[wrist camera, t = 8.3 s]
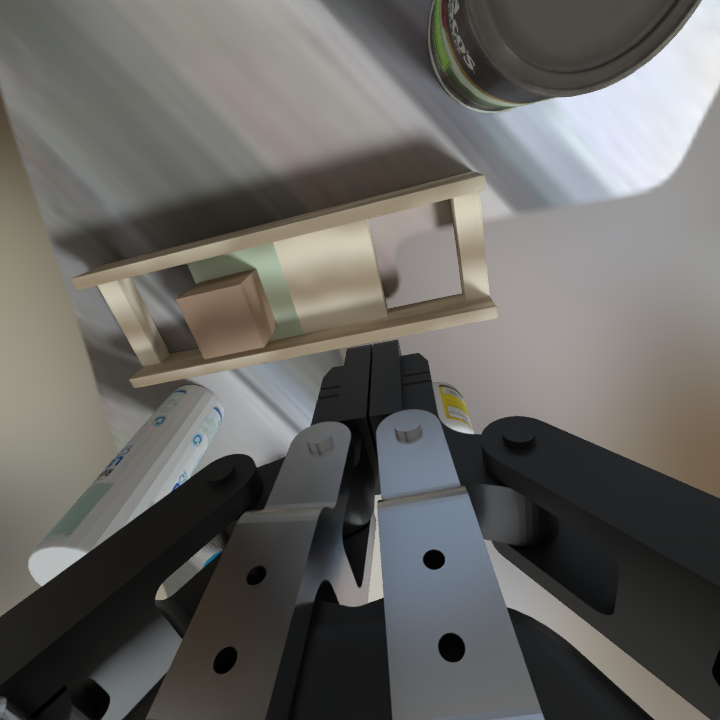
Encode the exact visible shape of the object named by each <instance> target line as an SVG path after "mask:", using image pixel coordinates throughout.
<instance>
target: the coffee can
mask: <svg viewBox="0 0 720 720" xmlns="http://www.w3.org/2000/svg"><path fill="white" fill-rule="evenodd" d="M701 1H702V0H433V3H432V7H431V11H430V17H429V26H428V46H429V54H430V58H431V62H432V66H433V69H434V71H435V74H436V76H437V78H438V80H439V82H440V83H441V85H442V87H443V88H444V89H445V91H446V92H447V93H448V94H449V96H450V97H452V98H453V99H454V100H455V101H456V102H458V103H459V104H461V105H462V106H464V107H466V108H468V109H471V110H474V111H477V112H483V113H501V112H505V111H509V110H512V109H514V108H517V107H520V106H524V105H529V104H533V103H537V102H541V101H545V100H549V99H553V98H557V97H572V96H577V95H582V94H587V93H590V92H594V91H597V90H600V89H603V88H606V87H608V86H610V85H612V84H614V83H616V82H618V81H620V80H622V79H624V78H626V77H627V76H629V75H631V74H632V73H634V72H635V71H636V70H638V69H639V68H640V67H642V66H643V65H645V64H646V63H647V62H649V61H650V60H651V59H652V58H653V57H655V56H656V55H657V54H658V53H659V52H660V51H661V50H662V49H663V48H664V47H665V46H666V45H667V44H668V43H669V42H670V41H671V40H672V39H673V38H674V37H675V36H676V35H677V33H678V32H679V31H680V30H681V29H682V28H683V26H684V25H685V24H686V22H687V21H688V20H689V18H690V17H691V16H692V14H693V13H694V12H695V10H696V9H697V7H698V5H699V4H700V2H701Z"/></svg>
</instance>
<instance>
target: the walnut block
mask: <svg viewBox="0 0 720 720" xmlns="http://www.w3.org/2000/svg"><path fill="white" fill-rule="evenodd" d="M176 301H177V303H178V306H179V308H180V310H181V312H182V314H183V316H184V318H185V320H186V322H187V324H188V326H189V328H190V330H191V333H192V335H193V337H194V339H195V341H196V343H197V345H198V347H199V349H200V351H201V353H202V355H203V358H204V359H209V358H214V357H219V356H224V355H229V354H233V353H238V352H243V351H248V350H253V349H258V348H263V347H265V345H266V344H267V342H268V340H269V339H270V337H271V335H272V334H273V332H274V330H275V329H276V327H277V323H276V321H275V318H274V315H273V312H272V310H271V307H270V304H269V302H268V299H267V296H266V294H265V291H264V288H263V285H262V283H261V280H260V277H259V275H258V272H257V269H252V270H248V271H244V272H239V273H235V274H231V275H227V276H223V277H219V278H214V279H210V280H206V281H202V282H199V283H197V284H196V285H195V286H193V287H192V288H190V289H189V290H188V291H186V292H185V293H184V294H182V295H181V296H180V297H178V298H177V299H176Z"/></svg>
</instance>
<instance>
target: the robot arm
mask: <svg viewBox="0 0 720 720" xmlns="http://www.w3.org/2000/svg"><path fill="white" fill-rule="evenodd" d="M320 389H321V391H320V392H319V396H318V400H317V404H316V407H315V411H314V415H313V419H312V423H311V426H310V427H308V428H306V429H304V430H303V431H301V432H300V433H299V434H298V435H297V436H296V437H295V438H294V440H293V441H292V443H291V445H290V448H289V450H288V452H287V455H286V457H284V458H282V459H279V460H277V461H274V462H271V463H269V464H266V465H263V466H260V467H258V468H257V467H256V465H255V463H254V461H253V459H252V458H251V457H250V456H247V455H244V454H232V455H228V456H225V457H222V458H220V459H217V460H215V461H214V462H212V463H210V464H209V465H207V466H206V467H205V468H203V469H202V470H200V471H199V472H198V473H196V474H195V475H194V476H192V477H191V478H189V479H188V480H187V481H185V482H184V483H183V484H181V485H180V486H179V487H177V488H176V489H174V490H173V491H172V492H170V493H169V494H168V495H166V496H165V497H164V498H162V499H161V500H159V501H158V502H157V503H155V504H154V505H153V506H151V507H150V508H148V509H147V510H146V511H144V512H143V513H142V514H140V515H139V516H138V517H136V518H135V519H133V520H132V521H131V522H129V523H128V524H127V525H125V526H124V527H122V528H121V529H120V530H118V531H117V532H116V533H114V534H113V535H112V536H110V537H109V538H107V539H106V540H105V541H103V542H102V543H101V544H99V545H98V546H97V547H95V548H94V549H92V550H91V551H90V552H88V553H87V554H86V555H84V556H83V557H81V558H80V559H79V560H77V561H76V562H75V563H73V564H72V565H71V566H69V567H68V568H66V569H65V570H64V571H62V572H61V573H60V574H58V575H57V576H56V577H54V578H53V579H51V580H50V581H49V582H47V583H46V584H45V585H43V586H42V587H41V588H39V589H38V590H36V591H35V592H34V593H32V594H31V595H30V596H28V597H27V598H25V599H24V600H23V601H21V602H20V603H19V604H17V605H16V606H15V607H13V608H12V609H10V610H9V611H8V612H6V613H5V614H4V615H2V616H1V617H0V720H654V719H653V718H652V717H651V716H650V715H649V714H647V713H646V712H645V711H644V710H643V709H642V708H641V707H640V706H639V705H637V704H636V703H635V702H634V701H633V700H632V699H631V698H630V697H629V696H627V695H626V694H625V693H624V692H623V691H622V690H621V689H620V688H619V687H618V686H616V685H615V684H614V683H613V682H612V681H611V680H610V679H609V678H608V677H607V676H606V675H604V674H603V673H602V672H601V671H600V670H599V669H598V668H597V667H596V666H594V665H593V664H592V663H591V662H590V661H589V660H588V659H587V658H586V657H585V656H583V655H582V654H581V653H580V652H579V651H578V650H577V649H576V648H575V647H573V646H572V645H571V644H570V643H569V642H568V641H566V640H565V639H564V638H563V637H561V636H560V635H558V634H557V633H556V632H554V631H553V630H552V629H550V628H549V627H547V626H546V625H544V624H542V623H540V622H539V621H537V620H535V619H534V618H532V617H530V616H528V615H525V614H523V613H521V612H519V611H516V610H514V609H511V608H508V607H506V604H505V601H504V598H503V595H502V592H501V590H500V587H499V583H498V580H497V578H496V575H495V572H494V569H493V566H492V563H491V560H490V557H489V554H488V551H487V548H486V545H485V542H484V539H486V540H491V541H492V543H493V545H494V547H495V548H496V549H497V551H498V552H499V553H500V554H501V555H502V556H504V557H505V558H506V559H507V560H509V561H510V562H511V563H512V564H514V565H515V566H516V567H518V568H519V569H520V570H521V571H523V572H524V573H525V574H526V575H528V576H529V577H530V578H531V579H533V580H534V581H535V582H537V583H538V584H539V585H540V586H542V587H543V588H544V589H545V590H547V591H548V592H549V593H551V594H552V595H553V596H554V597H556V598H557V599H558V600H559V601H561V602H562V603H563V604H564V605H566V606H567V607H568V608H570V609H571V610H572V611H574V612H575V613H576V614H577V615H578V616H580V617H581V618H583V619H584V620H585V621H586V622H588V623H589V624H590V625H591V626H593V627H594V628H595V629H596V630H598V631H599V632H600V633H602V634H603V635H604V636H605V637H606V638H608V639H609V640H610V641H611V642H613V643H614V644H615V645H617V646H618V647H619V648H620V649H622V650H623V651H624V652H625V653H627V654H628V655H629V656H631V657H632V658H633V659H634V660H636V661H637V662H638V663H639V664H641V665H642V666H643V667H645V668H646V669H647V670H648V671H650V672H651V673H652V674H653V675H655V676H656V677H657V678H658V679H660V680H661V681H662V682H664V683H665V684H666V685H667V686H669V687H670V688H671V689H672V690H674V691H675V692H676V693H677V694H679V695H680V696H682V697H683V698H684V699H685V700H687V701H688V702H689V703H690V704H692V705H693V706H694V707H695V708H697V709H698V710H699V711H700V712H702V713H703V714H704V715H706V716H707V717H708V718H709V719H711V720H720V498H717V497H715V496H713V495H711V494H708V493H706V492H704V491H701V490H699V489H697V488H694V487H692V486H689V485H688V484H685V483H683V482H681V481H678V480H676V479H674V478H671V477H669V476H667V475H665V474H662V473H660V472H658V471H655V470H653V469H651V468H648V467H646V466H644V465H641V464H639V463H637V462H634V461H632V460H630V459H628V458H625V457H623V456H621V455H619V454H616V453H614V452H612V451H609V450H607V449H605V448H602V447H600V446H598V445H595V444H593V443H591V442H589V441H586V440H584V439H582V438H579V437H577V436H575V435H572V434H570V433H568V432H566V431H563V430H561V429H559V428H556V427H554V426H552V425H549V424H547V423H545V422H543V421H540V420H537V419H534V418H530V417H523V416H513V417H506V418H502V419H499V420H496V421H494V422H492V423H490V424H489V425H488V426H487V427H486V428H485V429H484V430H483V432H482V434H481V435H478V434H468V433H462V432H458V431H456V430H453V429H451V428H449V427H447V426H446V425H445V424H444V423H443V422H442V421H441V420H440V418H439V415H438V411H437V406H436V401H435V395H434V390H433V385H432V380H431V375H430V369H429V364H428V361H427V360H426V359H425V358H424V357H423V356H422V355H421V354H419V353H416V354H410V355H404V356H402V355H401V350H400V345H399V342H398V340H393V341H388V342H382V343H377V344H373V346H372V344H371V345H365V346H360V347H354V348H348V349H347V352H346V357H345V363H344V366H339V367H333V368H332V369H331V370H330V371H329V372H328V373H327V374H326V375H325V376H324V378H323V380H322V384H321V388H320ZM380 494H381V497H382V500H379V501H378V505H377V508H378V523H379V538H380V552H381V566H382V579H383V593H384V598H382V599H379V600H376V601H373V602H370V603H368V594H369V584H370V576H371V566H372V558H373V548H374V539H375V530H376V518H375V514H374V498H375V495H380ZM214 537H216V538H217V540H218V542H219V544H220V545H221V547H222V549H223V551H222V552H220V553H219V554H218V555H217V556H216V557H215V558H214V559H213V560H212V561H210V562H209V563H208V564H207V565H206V566H205V567H204V568H203V569H202V570H200V571H199V572H198V573H197V574H196V575H195V576H194V577H193V578H192V579H190V580H189V581H188V582H187V583H186V584H185V585H184V586H183V587H182V588H180V589H179V590H178V591H177V592H176V593H175V594H174V595H172V596H171V597H169V598H167V599H165V600H155V596H156V593H157V591H158V588H159V587H160V586H161V584H162V583H163V582H164V581H165V580H166V579H167V578H168V577H169V576H170V575H171V574H173V573H174V572H175V571H176V570H177V569H178V568H179V567H181V566H182V565H183V564H184V563H185V562H186V561H188V560H189V559H190V558H191V557H192V556H193V555H194V554H196V553H197V552H198V551H199V550H200V549H201V548H203V547H204V546H205V545H206V544H207V543H208V542H210V541H211V540H212V539H213V538H214Z"/></svg>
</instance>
